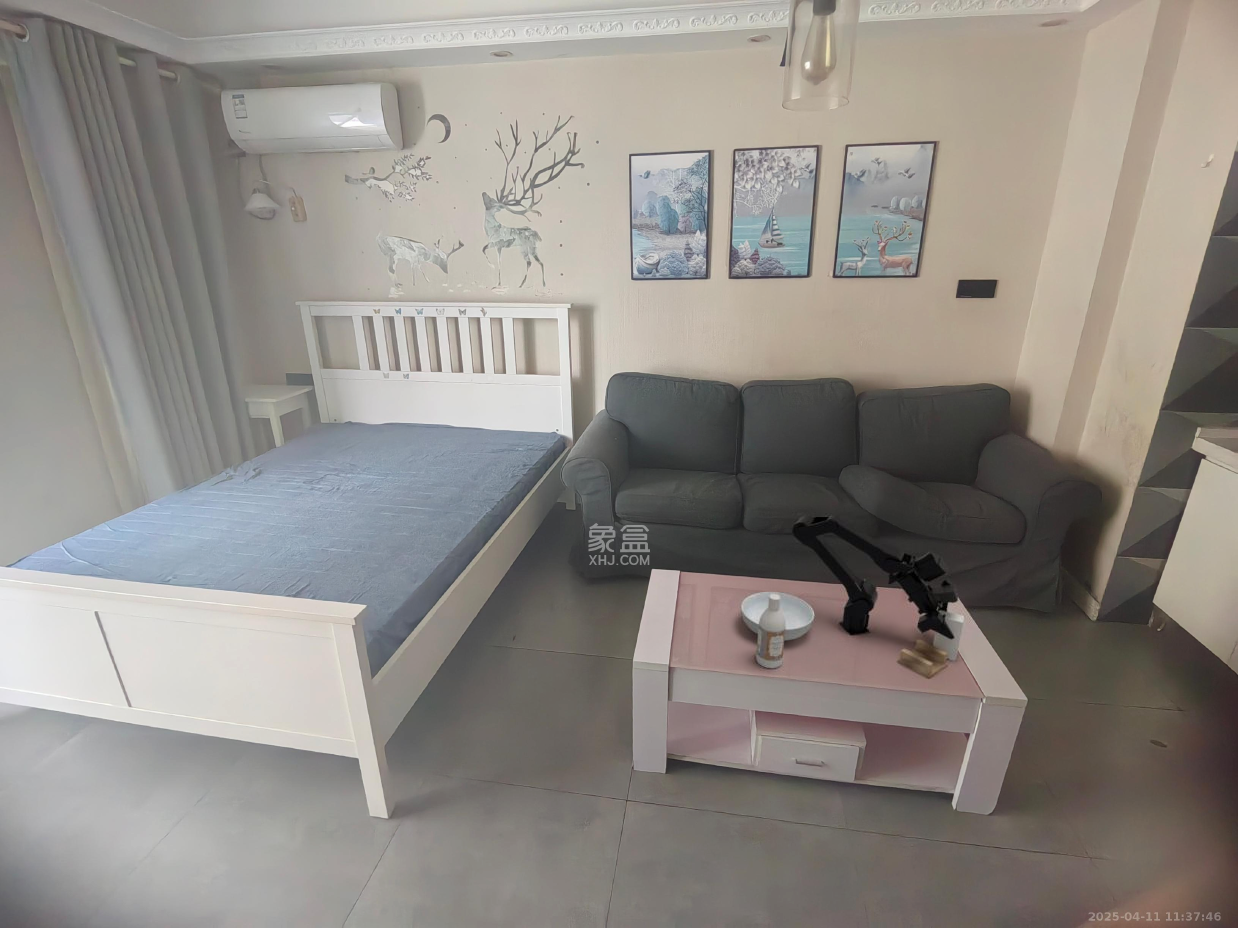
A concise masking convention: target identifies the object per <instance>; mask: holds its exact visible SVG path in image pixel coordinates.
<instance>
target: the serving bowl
mask: <svg viewBox="0 0 1238 928" xmlns="http://www.w3.org/2000/svg"><path fill="white" fill-rule="evenodd" d="M771 594H777V595H779V596H780V608H779V609H780V611H781V612H782V614H783V616H784V618H785V622H786V629H785V640H784V641H790V640H795V639H797V638H798V639H799V638H800V637H802V636H804V635H805V634H806V633H807V632H809V630H810V629H811V627H812V625H813V623H814V620H815V612H814V609H813V608H812V606H811V605H810V604H809V603H807V602H806V601H805V600H803V599H801V598H800V597H797V596H795V595H793V594H789V593H784V592H779V591H778V592H777V591H764V592H763V591H762V592H756V593H754V594H750V595H749V596H747V597H746V598H744V599H743V601H742V602H741V605H740V611H741V615H742V619H743V622H744V623H745V625H746V626H747V627H748V628H749V629H750V630H751V631H752V632H754V633H755V634H757V635H758V630H759V621H760V617H761V615H762V614H763V612H764V611H765V610H766V609H767V608H768V603H769V595H771Z"/></svg>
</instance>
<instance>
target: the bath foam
mask: <svg viewBox="0 0 1238 928" xmlns="http://www.w3.org/2000/svg"><path fill="white" fill-rule="evenodd" d="M779 608H780V596H779V595H777V594H771V595H769V603H768V608H767V609H766V610H765V611H764V612H763V614H762V615H761V617H760V621H759V630H758V634H757V643H756V657H755V658H756V662H757V663H758V664H759V666H760V665H761V666H762V667H764V668H767V669H776V668H779V667H781V665H782V664H783V658H784V649H785V641H786V640H785V629H786V622H785V618H784V616H783V614H782V612H781V611H780V609H779Z"/></svg>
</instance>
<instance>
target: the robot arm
mask: <svg viewBox="0 0 1238 928" xmlns="http://www.w3.org/2000/svg"><path fill="white" fill-rule="evenodd" d="M791 533H792V535H793V536H794V538H795V539H796V540H797V541H798V542H799V543H801V544H802V545H803V546H805V547H807V548H809V549H811V550H812V551H813V552H814V553H815V554H816V555H817V556H818V558H819V559H820V560H821V561H822V562H823V563H824V564H825V566H826V567H827V568H828V569H829V570H830V572H831V573H832V574H833V575H834V576H835V577H836V579H837V580H838V581H839V582H840V583H841V584H842V586H843V587H844V589H845V591H846V593H847V596H848V599H847V602H846V604H845V605H844V607H843V614H842V615H843V617H842V621H839V622H838V625H839V626H840V627H842V629H843V630H845V632H847V633H848V634H849V635H850V636H854V635H857V636H858V635H862V634H869V633H870V632H871V630H870V629H869V622H870V621H869V620H870V612H872V611H873V610H874V608H875V605H876V603H877V601H878V595H879V593H878V591H877V587H876V586H875V585H874V584H873V583H872V582H871V580H870V579H869V578H868V577H866V578H864V579H862V578H860V577H858V576H857V575H856V574H855V572H853V570H852V569H851V567H849V565H848V564H847V563H846V562H845V560H843V559H842V558H841V556H840V555H839V554H838V553H837V552H836V550H835V549H834V548H833V547H832V546H831V544H830V543H829V542H828V541H827V539H825V536H824V535H825V534H831V533H832V534H834V535H835V536H836V537H838V538H840V539H842V540H843V541H845V542H846V543H849V545H851V546H853V547H854V548H856V549H857V550H860V551H861V552H862V553H864V554H866V555H867V556H868V557H869V558H870V559H871V560H872V562H873V563H874V564H875V565H876V566H877V567H879V568H880V569H881V570H882V571H883V572H884V573H887V574H888V582H887V583H888V585H892V584H894V583H895V582H896V583H897V584H898V585H899V586H900V588H901V589H902V591H904V593H905V594H906V596H908V598H907V600H908V602H909V603H912V602H913V604H914V605H915V606H916V607H917V609H918V610H917V614H919V615H920V616H919V617H918V618H919V619H918V621H917V629H918V630H919V631H920V633H921V634H922V633H923V634H924V633H926V632H929V631H933V632H934V633H935V632H937V633H939V634H941V635H943V636H945V637H947V638H949V639H954V638H955V637H954V635H953V633H952V632H951V630H950V629H949V627H948V625H947V624H946V622H945V617H946V614H944V615H941V613H940V612H939V611H940V610H942V611H946V612H948V606H949V603H950V604H951V603H952V604H955V603H957V602H958V600H959V593H958V590H957V585H956V584H955V583H953V582H951V580H949V579H948V578H947V579H942V580H941V585H937V586H936V587H933V585H932V584H931V583H930V582H932V581H934V580H937V579H938V578H940V577H942V576H944V575H946V574H948V573H949V567H948V565H947V562H946V561H945V560H944V559H943V558H942V556H939V555H938V554H936V553H934V551H932V550H929V551H928V552H926V554H924V555H922V556H920V557H917V556H915V555H913V554H910V553H907V552H904V551H903V550H902V549H900V548H899V547H896V546H894V545H892V544H890V543H886V542H881V541H878V540H876V539H874V538H873V537H871V536H869V535H868V534H866V533H864V532H863V531H862V530H860V529H858V528H856V527H854V526H853V525H851V524H849V523H848V522H846V521H844V520H843V519H842V518H841V517H839V516H838V515H835V514H834V515H817V516H811V515H802V516H800V517H799V519H798V520H797V522H795V523H794V525H793V526H792V532H791ZM925 582H927V583H925ZM929 583H930V584H929Z"/></svg>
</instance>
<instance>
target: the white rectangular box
mask: <svg viewBox="0 0 1238 928" xmlns="http://www.w3.org/2000/svg"><path fill="white" fill-rule="evenodd" d="M939 612H940V613H941V615H944V614H946V617H945V622H946V624H947V625H948V627H949V629H950V630H951V632H952V633H953V635H954V637H955V638H954V639H949V638H947V637H945V636H943V635H941V634H939V633H937V632H935V631H934V638H933V644H932V646H934V647H936V648H938V649H941V650H943V651H945V652H947V653H948V656H947V660H951V661H955V662H956V660H957V655H958V650H959V646H960V640H961V636H962V630H963V626H964V619H965V616H964V615H961V614H957V613H953V612H946V611H942V610H940V611H939Z"/></svg>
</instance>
